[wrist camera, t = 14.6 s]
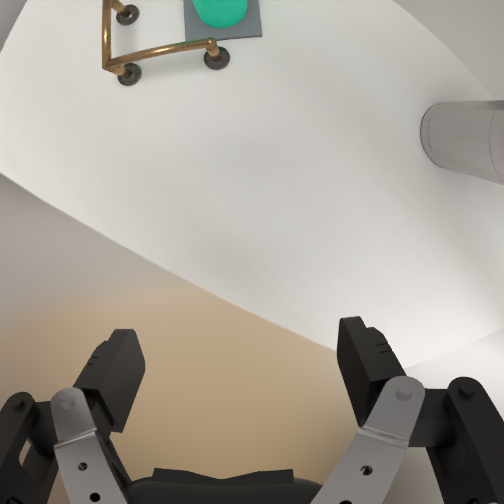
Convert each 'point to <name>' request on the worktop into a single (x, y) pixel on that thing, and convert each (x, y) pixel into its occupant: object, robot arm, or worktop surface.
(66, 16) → the worktop surface
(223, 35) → the coaster
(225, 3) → the candle
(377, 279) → the worktop surface
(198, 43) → the handrail
